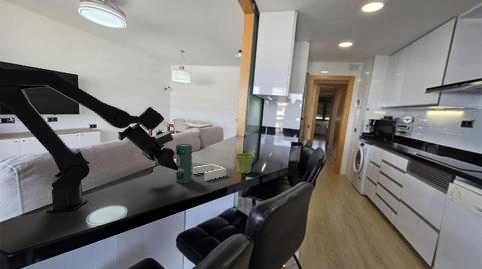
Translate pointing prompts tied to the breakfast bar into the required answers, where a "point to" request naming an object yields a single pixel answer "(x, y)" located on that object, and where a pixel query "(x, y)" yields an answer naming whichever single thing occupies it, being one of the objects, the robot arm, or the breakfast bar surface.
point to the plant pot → (244, 162)
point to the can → (184, 163)
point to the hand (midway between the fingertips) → (172, 166)
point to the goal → (210, 171)
